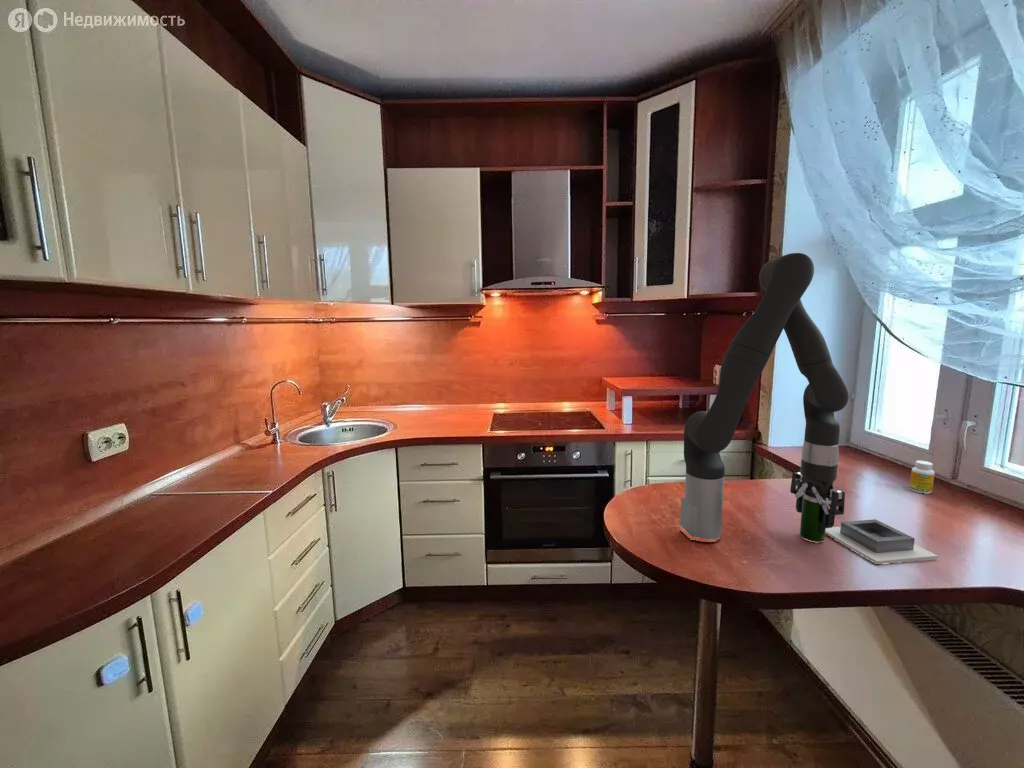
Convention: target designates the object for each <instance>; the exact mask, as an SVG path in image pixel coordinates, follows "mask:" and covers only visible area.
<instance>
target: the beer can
mask: <svg viewBox="0 0 1024 768" xmlns="http://www.w3.org/2000/svg"><path fill="white" fill-rule="evenodd" d="M823 500H824V501H828V498H826V499H823ZM827 506H828V507H829V505H827ZM824 513H825V512H824V510H823V507H822V506H821V505H820V504H819V502H818V500H817V498H816V497H814V496H812V495H810V494H808V493H807V492H805V493H804V496H803V503H802V513H800V514H801V517H800V525H799V526H800V527H799V535H801V536H802V537H803V538H805V539H808V540H811V541H815V542H821V541H823V542H825V537H826V535H825V531H826V528H825V527H823V526H822V525H823V515H824ZM801 536H800V537H801Z"/></svg>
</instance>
